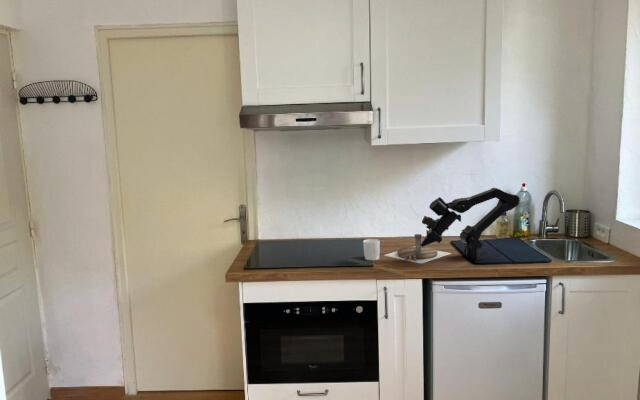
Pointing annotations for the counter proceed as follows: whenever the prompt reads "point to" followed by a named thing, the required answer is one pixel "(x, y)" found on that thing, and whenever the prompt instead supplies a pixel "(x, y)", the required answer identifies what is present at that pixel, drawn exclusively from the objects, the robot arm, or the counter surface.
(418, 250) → the dial
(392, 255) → the base
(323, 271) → the counter surface
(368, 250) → the white cup
